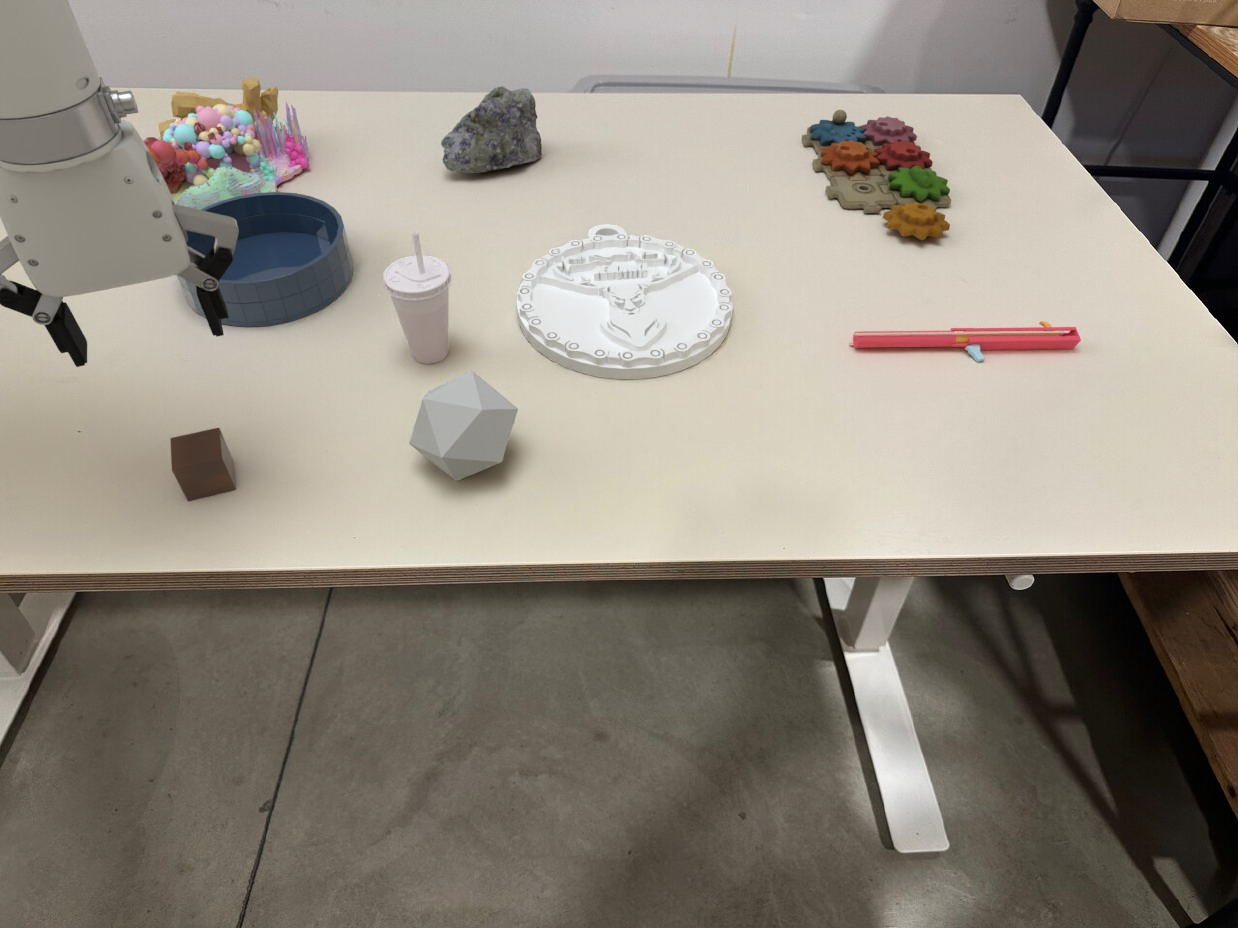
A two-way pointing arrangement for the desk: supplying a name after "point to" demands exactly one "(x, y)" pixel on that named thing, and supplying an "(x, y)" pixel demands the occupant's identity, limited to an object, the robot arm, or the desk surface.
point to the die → (463, 426)
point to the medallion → (624, 305)
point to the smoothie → (421, 302)
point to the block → (202, 464)
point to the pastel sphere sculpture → (227, 147)
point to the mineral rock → (495, 134)
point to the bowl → (277, 258)
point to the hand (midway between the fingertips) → (151, 340)
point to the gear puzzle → (881, 172)
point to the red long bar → (974, 339)
